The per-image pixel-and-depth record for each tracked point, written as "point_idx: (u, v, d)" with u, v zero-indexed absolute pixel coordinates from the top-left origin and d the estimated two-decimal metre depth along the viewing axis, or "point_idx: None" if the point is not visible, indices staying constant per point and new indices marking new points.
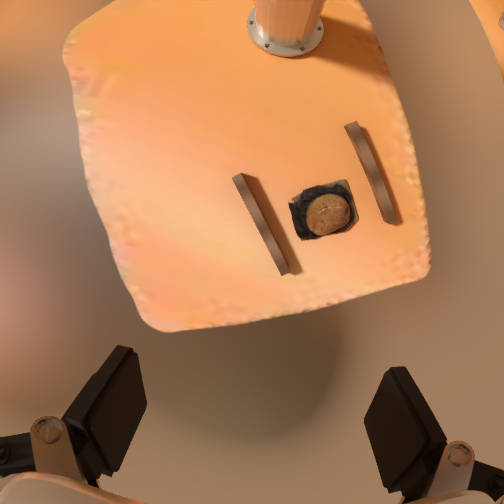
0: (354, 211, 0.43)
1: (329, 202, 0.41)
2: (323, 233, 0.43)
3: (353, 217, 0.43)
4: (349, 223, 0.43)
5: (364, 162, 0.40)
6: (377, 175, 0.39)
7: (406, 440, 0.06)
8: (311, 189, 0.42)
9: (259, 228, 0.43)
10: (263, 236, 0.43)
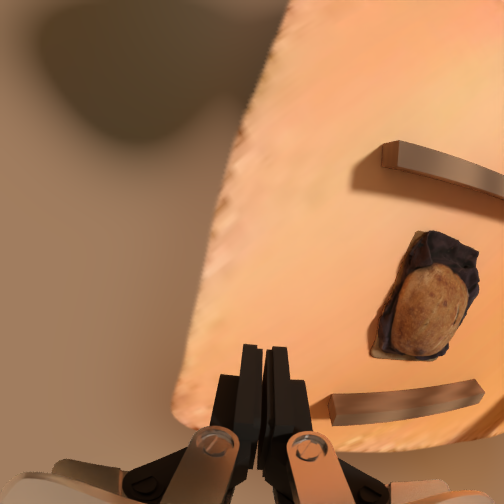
0: (389, 355, 0.19)
1: (453, 330, 0.16)
2: (413, 288, 0.16)
3: (384, 351, 0.19)
4: (386, 343, 0.18)
5: (439, 397, 0.19)
6: (417, 413, 0.18)
7: (264, 419, 0.07)
8: (471, 303, 0.17)
9: (496, 176, 0.13)
10: (484, 170, 0.13)
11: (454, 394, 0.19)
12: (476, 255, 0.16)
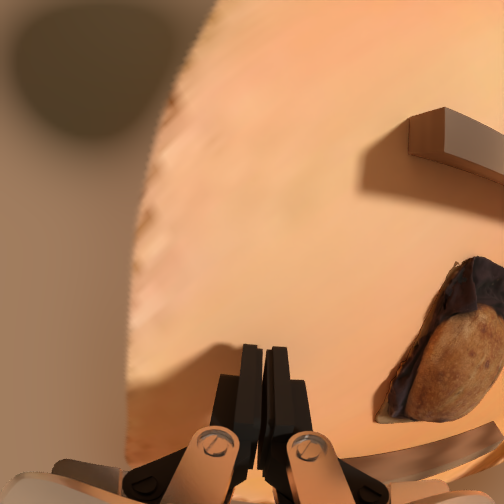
0: (400, 419, 0.13)
1: (487, 391, 0.09)
2: (447, 344, 0.10)
3: (394, 417, 0.12)
4: (398, 411, 0.11)
5: (453, 453, 0.12)
6: (426, 475, 0.12)
7: (264, 419, 0.07)
8: None
9: None
10: None
11: (471, 446, 0.12)
12: None
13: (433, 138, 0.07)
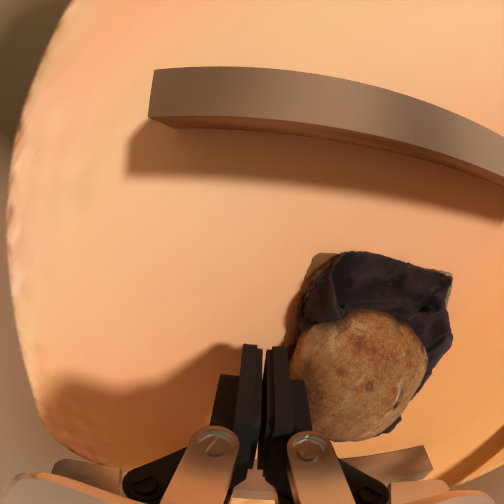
0: None
1: (396, 413, 0.10)
2: (308, 357, 0.10)
3: None
4: None
5: None
6: None
7: (264, 419, 0.07)
8: (438, 359, 0.11)
9: (435, 113, 0.06)
10: (396, 99, 0.06)
11: (379, 473, 0.12)
12: (447, 284, 0.10)
13: None
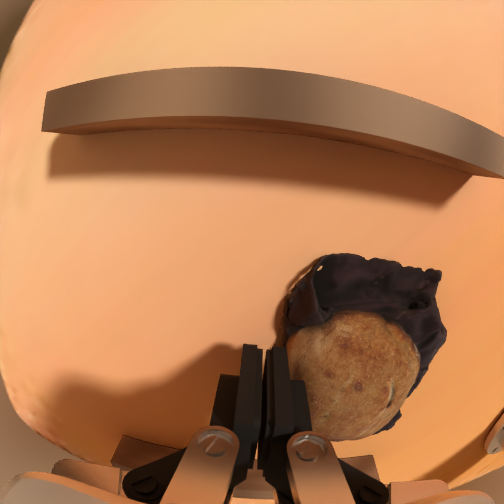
0: None
1: (391, 411, 0.10)
2: (297, 360, 0.10)
3: None
4: None
5: None
6: (237, 494, 0.12)
7: (264, 419, 0.07)
8: (434, 355, 0.11)
9: (294, 80, 0.07)
10: (241, 74, 0.07)
11: None
12: (437, 279, 0.10)
13: None
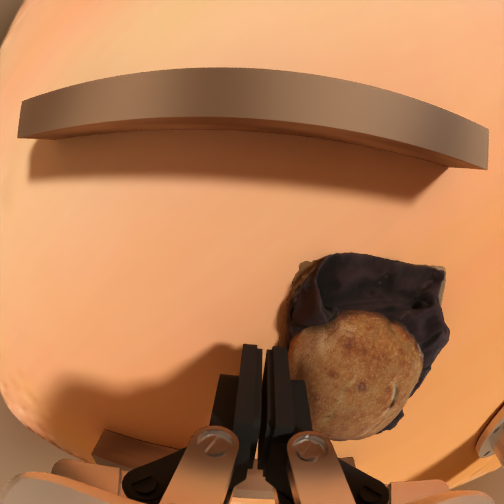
0: None
1: (394, 411, 0.10)
2: (300, 360, 0.10)
3: None
4: None
5: (257, 480, 0.13)
6: None
7: (264, 419, 0.07)
8: (436, 354, 0.11)
9: (237, 76, 0.07)
10: (187, 75, 0.07)
11: None
12: (440, 279, 0.10)
13: None
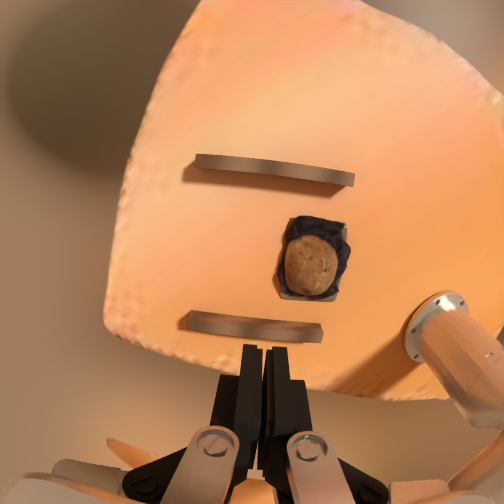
0: (294, 297, 0.35)
1: (328, 276, 0.31)
2: (290, 251, 0.32)
3: (288, 293, 0.34)
4: (285, 287, 0.34)
5: (272, 326, 0.34)
6: (251, 333, 0.34)
7: (264, 419, 0.07)
8: (347, 258, 0.33)
9: (276, 163, 0.28)
10: (262, 161, 0.28)
11: (289, 327, 0.34)
12: (342, 226, 0.32)
13: None
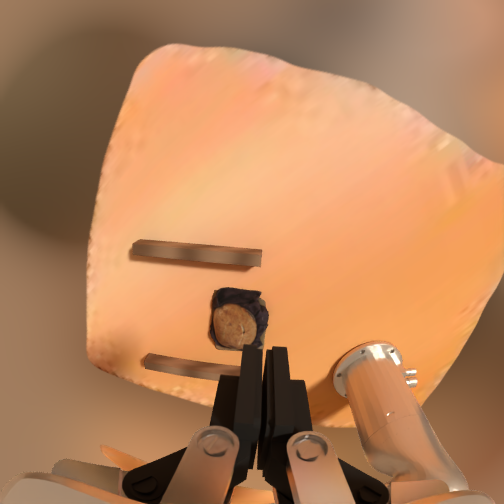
0: (227, 348, 0.42)
1: (247, 336, 0.38)
2: (215, 317, 0.39)
3: (221, 346, 0.41)
4: (217, 342, 0.40)
5: (208, 369, 0.41)
6: (192, 374, 0.41)
7: (264, 419, 0.07)
8: (266, 320, 0.39)
9: (192, 251, 0.35)
10: (181, 250, 0.35)
11: (221, 371, 0.41)
12: (259, 294, 0.39)
13: None
